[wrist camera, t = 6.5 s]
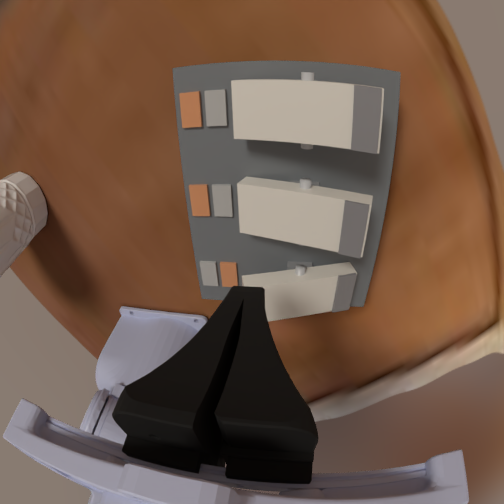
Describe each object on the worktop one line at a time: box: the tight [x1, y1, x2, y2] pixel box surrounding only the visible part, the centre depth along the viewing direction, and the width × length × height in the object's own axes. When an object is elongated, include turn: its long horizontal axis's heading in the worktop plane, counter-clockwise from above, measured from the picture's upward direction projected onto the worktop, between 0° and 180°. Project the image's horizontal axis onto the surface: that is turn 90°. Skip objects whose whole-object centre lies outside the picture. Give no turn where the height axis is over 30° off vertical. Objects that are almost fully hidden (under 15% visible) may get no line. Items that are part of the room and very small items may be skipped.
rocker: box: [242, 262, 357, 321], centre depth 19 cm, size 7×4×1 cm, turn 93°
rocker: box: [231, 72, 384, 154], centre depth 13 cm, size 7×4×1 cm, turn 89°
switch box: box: [173, 61, 400, 307], centre depth 19 cm, size 12×16×4 cm
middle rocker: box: [237, 176, 373, 258], centre depth 16 cm, size 7×4×1 cm, turn 89°
